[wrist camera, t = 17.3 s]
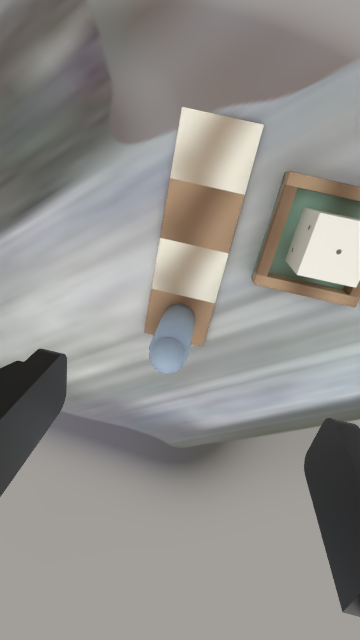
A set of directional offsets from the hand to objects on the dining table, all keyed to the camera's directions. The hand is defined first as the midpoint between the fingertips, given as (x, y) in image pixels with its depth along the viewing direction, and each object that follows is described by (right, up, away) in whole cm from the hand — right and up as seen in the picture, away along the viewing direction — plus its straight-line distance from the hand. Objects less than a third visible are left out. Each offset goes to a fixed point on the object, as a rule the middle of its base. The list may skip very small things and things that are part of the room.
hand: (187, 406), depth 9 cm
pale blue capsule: (0, +3, +24) cm, 24 cm away
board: (+1, +10, +21) cm, 24 cm away
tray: (+13, +10, +20) cm, 26 cm away
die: (+13, +10, +19) cm, 25 cm away
